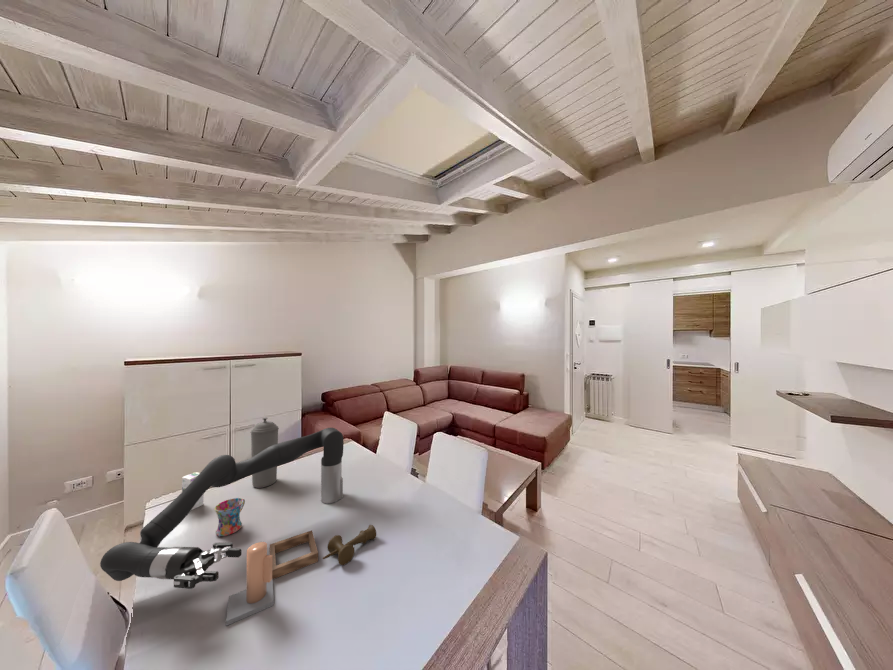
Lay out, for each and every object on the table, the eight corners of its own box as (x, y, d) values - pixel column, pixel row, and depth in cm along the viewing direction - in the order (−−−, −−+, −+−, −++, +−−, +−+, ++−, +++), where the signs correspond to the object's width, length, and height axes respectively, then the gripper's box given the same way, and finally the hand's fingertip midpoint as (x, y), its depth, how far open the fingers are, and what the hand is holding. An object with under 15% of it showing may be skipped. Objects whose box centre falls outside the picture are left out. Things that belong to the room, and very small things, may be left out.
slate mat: (272, 582, 90) (272, 579, 90) (273, 605, 83) (273, 600, 83) (229, 600, 84) (229, 596, 84) (225, 625, 77) (225, 621, 77)
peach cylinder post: (241, 603, 82) (242, 553, 82) (254, 588, 87) (254, 541, 87) (265, 604, 82) (265, 554, 82) (276, 588, 87) (276, 542, 87)
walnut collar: (312, 537, 111) (312, 530, 111) (318, 561, 99) (318, 552, 99) (269, 552, 103) (269, 544, 103) (270, 580, 91) (270, 570, 91)
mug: (229, 539, 110) (229, 512, 110) (207, 537, 111) (208, 510, 111) (254, 520, 122) (254, 495, 122) (234, 518, 123) (234, 493, 123)
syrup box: (204, 504, 134) (204, 473, 134) (189, 511, 128) (189, 478, 128) (196, 502, 136) (196, 471, 136) (181, 509, 130) (181, 476, 130)
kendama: (380, 544, 108) (329, 575, 93) (367, 533, 114) (316, 560, 100) (381, 528, 108) (329, 556, 94) (367, 518, 115) (316, 543, 100)
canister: (272, 475, 162) (272, 413, 162) (282, 481, 154) (283, 416, 155) (246, 484, 152) (246, 418, 152) (256, 492, 144) (256, 422, 145)
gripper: (198, 556, 92) (247, 558, 91) (150, 597, 77) (208, 599, 77) (198, 533, 92) (247, 534, 91) (150, 569, 77) (208, 570, 77)
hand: (229, 564), depth 84 cm, fingers open, 8 cm apart
